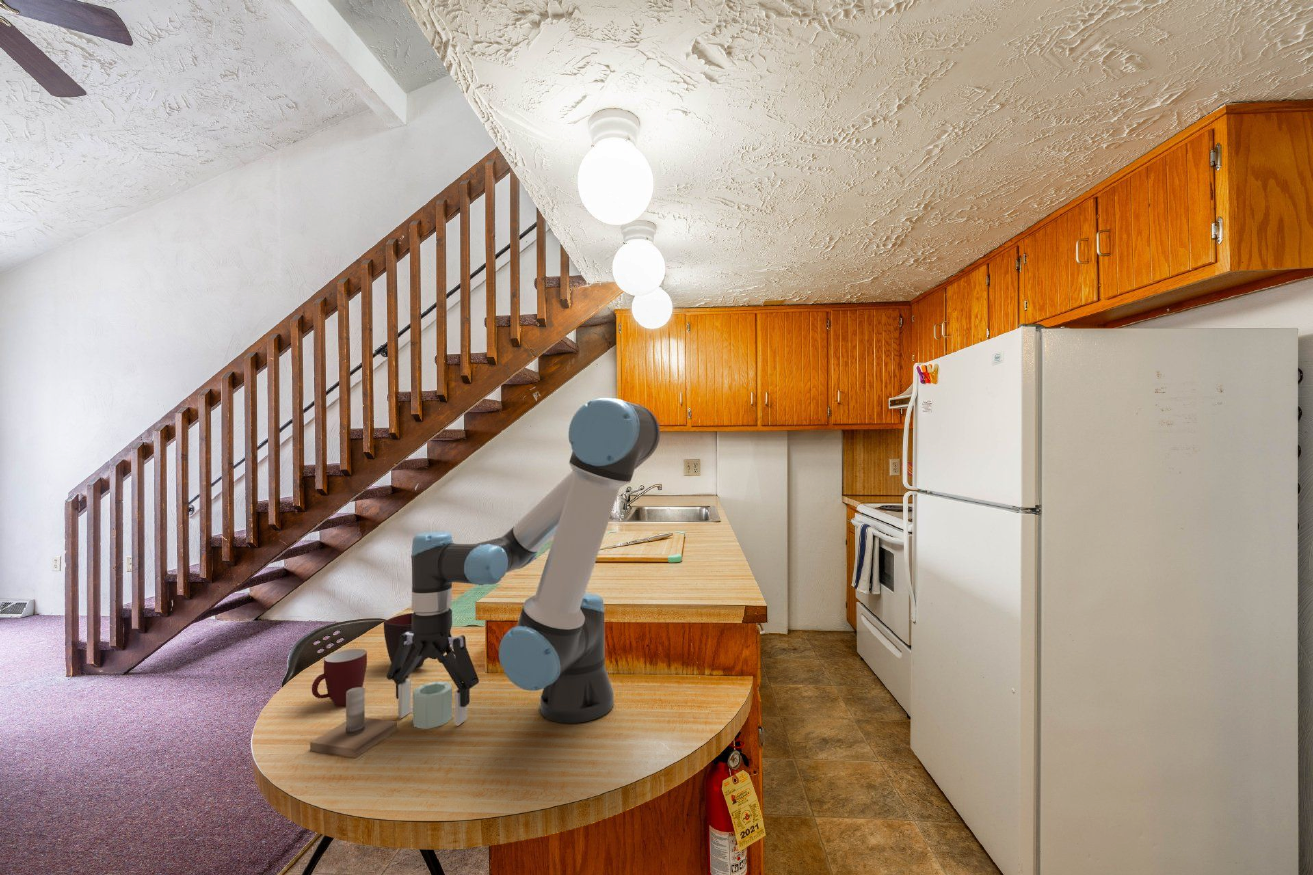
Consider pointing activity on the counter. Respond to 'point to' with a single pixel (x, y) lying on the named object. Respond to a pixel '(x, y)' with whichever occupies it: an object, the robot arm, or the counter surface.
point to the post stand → (354, 730)
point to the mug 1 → (342, 674)
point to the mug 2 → (398, 635)
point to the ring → (432, 704)
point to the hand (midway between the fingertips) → (432, 718)
